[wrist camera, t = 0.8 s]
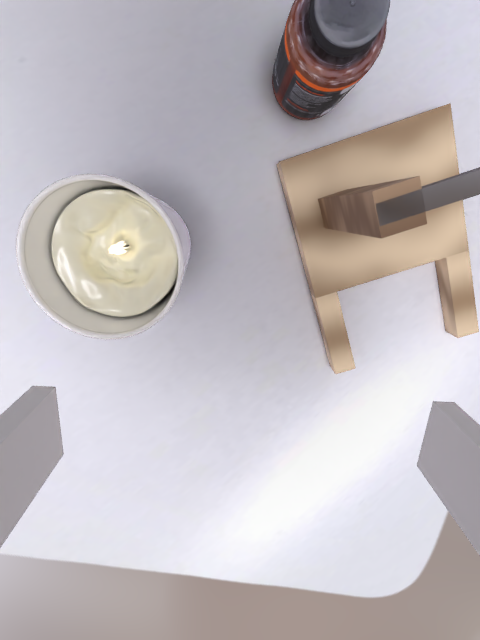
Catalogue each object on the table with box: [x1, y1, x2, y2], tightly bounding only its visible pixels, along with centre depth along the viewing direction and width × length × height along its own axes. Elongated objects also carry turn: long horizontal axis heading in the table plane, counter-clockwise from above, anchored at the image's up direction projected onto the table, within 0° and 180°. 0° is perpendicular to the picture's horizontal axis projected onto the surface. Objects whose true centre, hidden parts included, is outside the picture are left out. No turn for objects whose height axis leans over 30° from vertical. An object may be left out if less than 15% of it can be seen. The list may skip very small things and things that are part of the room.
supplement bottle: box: [272, 0, 390, 120], centre depth 24 cm, size 6×6×11 cm
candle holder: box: [16, 174, 191, 339], centre depth 27 cm, size 10×10×12 cm
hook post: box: [318, 167, 480, 239], centre depth 24 cm, size 2×6×12 cm, turn 108°
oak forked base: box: [277, 104, 479, 374], centre depth 32 cm, size 20×14×2 cm
